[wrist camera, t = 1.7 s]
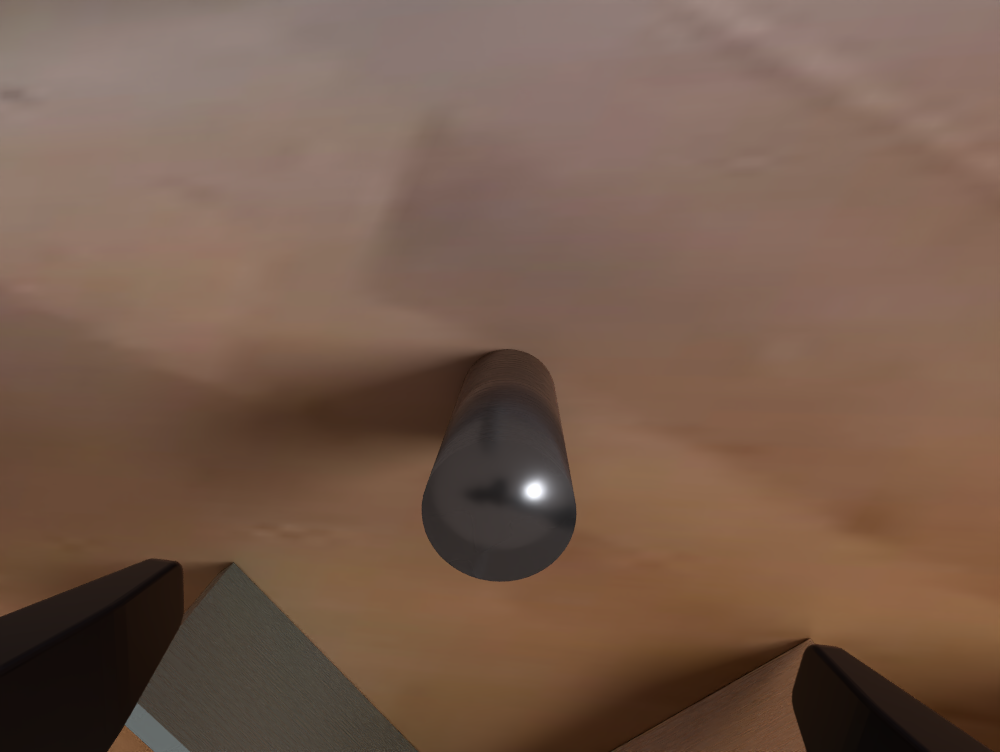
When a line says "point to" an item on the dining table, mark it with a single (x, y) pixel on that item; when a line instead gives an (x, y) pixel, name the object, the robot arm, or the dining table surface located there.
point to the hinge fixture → (350, 716)
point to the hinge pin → (502, 473)
